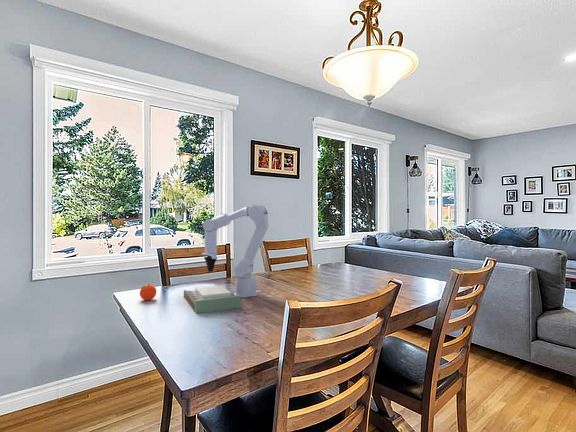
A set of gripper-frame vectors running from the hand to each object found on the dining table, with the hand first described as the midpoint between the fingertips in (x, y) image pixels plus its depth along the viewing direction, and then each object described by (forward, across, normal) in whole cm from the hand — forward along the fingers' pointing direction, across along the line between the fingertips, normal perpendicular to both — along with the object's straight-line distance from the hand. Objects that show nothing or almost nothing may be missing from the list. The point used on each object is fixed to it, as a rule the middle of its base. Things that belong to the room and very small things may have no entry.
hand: (210, 271), depth 162 cm
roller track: (+10, +15, -4) cm, 19 cm away
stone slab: (+7, +20, -4) cm, 22 cm away
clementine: (+11, +2, -29) cm, 31 cm away
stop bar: (+10, +29, -4) cm, 31 cm away
